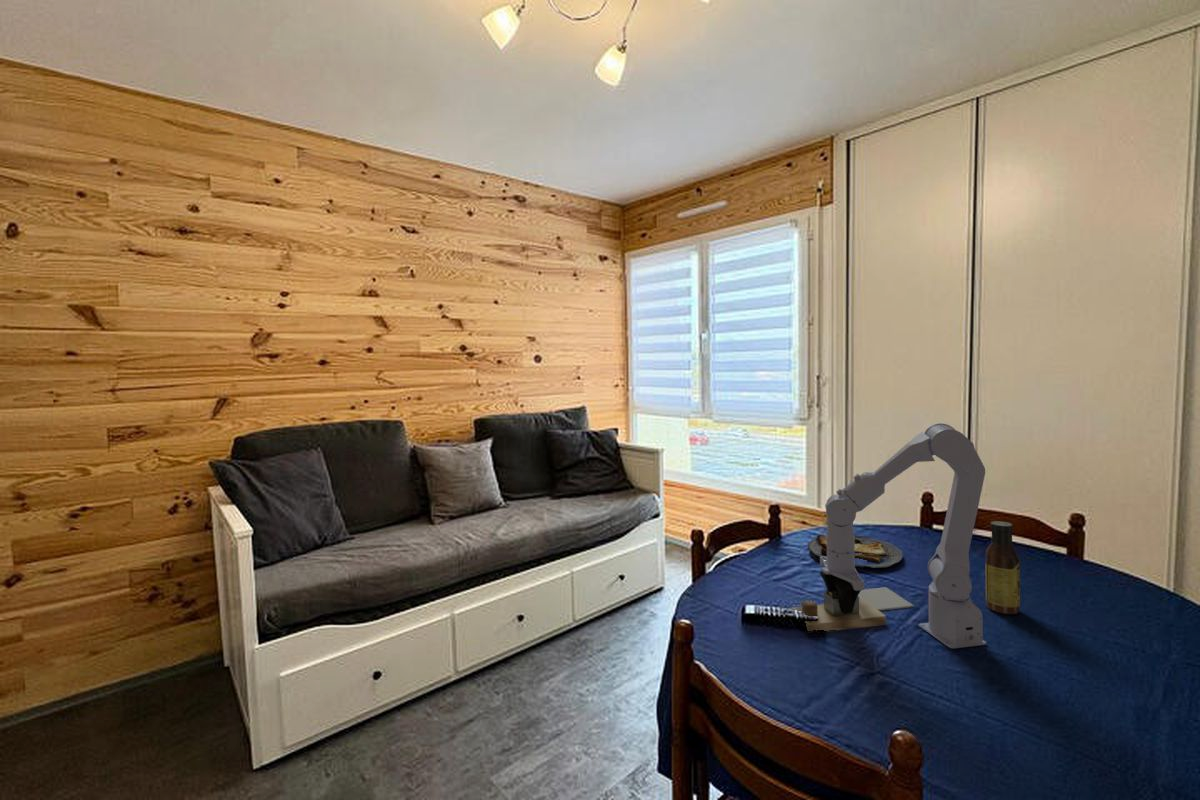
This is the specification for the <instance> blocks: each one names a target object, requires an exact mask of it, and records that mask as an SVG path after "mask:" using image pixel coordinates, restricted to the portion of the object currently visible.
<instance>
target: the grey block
mask: <svg viewBox="0 0 1200 800" xmlns="http://www.w3.org/2000/svg"><path fill="white" fill-rule="evenodd" d="M823 604H824V609H825V610H826V611H828V612H829V613H830V614H831V615H832V616H833V617H837V616H846V615H855V614H859V596H858V597H857V599H856V601H855V605H854V608H853V612H852V613H847V614H844V613H842V610H841V605H840V597H839V593H838V590H834V591H823Z"/></svg>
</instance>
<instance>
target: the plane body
mask: <svg viewBox="0 0 1200 800" xmlns="http://www.w3.org/2000/svg"><path fill="white" fill-rule="evenodd" d="M791 609H792V610H797V611H802V613H804V614H805V615H808V616H818V620H817V621H811V622H810V621H805V623H806V627H807V630H808V631H813V630H816V631H817V630H824V631H827V632H830V631H829V630H836V631H841V630H842V631H844V630H850V629H859V628H870V627H871V628H872V627H877V626H886V625H887V615H885V614H884V613H883V612H882V611H879V610H877V609H876V608H875V607H873V606H872V605H871V604H869V603H868V602H866V601H865V600H859V614H855V615H846V616H837V617H833V616H832V615H831V614H830V613H829V612H828V611H826V610H825V609H824V603H821V604H818V603H817V602H815V601H813V600H804V601H801V605H800V606H794V607H790V610H791ZM843 629H844V630H843Z"/></svg>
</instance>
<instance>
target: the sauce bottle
mask: <svg viewBox="0 0 1200 800" xmlns="http://www.w3.org/2000/svg"><path fill="white" fill-rule="evenodd" d="M989 526H990V527H989V528H990V529H991V542H990V544H989V545H988V546H987V548H986V550H985V566H984V568H985V569H984V570H985V571H984V572H985V573H984V574H985V601H986V606H987V607H988V609H989V610H991V611H993V612H994V613H995V612H996V613H998V614H1002V615H1016V614H1018V613H1019V611H1020V606H1021V588H1020V587H1021V582H1020V581H1021V579H1020V578H1021V574H1020V573H1021V571H1020V569H1021V567H1020V565H1021V564H1020V558H1019V556H1018V553H1017V551H1016V548H1015V546H1014V543H1013V542H1014V541H1013V531H1014V526H1013V524H1012V523H1010V522H1007V521H999V520H995V521H991V522H990V525H989Z"/></svg>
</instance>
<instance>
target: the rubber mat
mask: <svg viewBox="0 0 1200 800" xmlns="http://www.w3.org/2000/svg"><path fill="white" fill-rule="evenodd" d="M858 596H859V600H865V601H866V602H868V603H869V604H871V605H872V606H873V607H875V608H876V609H877V610H879V611H880V612H882V611H889V610H899V609H906V608H907V609H909V608H914V604H912V603H911V602H909V601H908V600H906V599H905V598H903V597H901V596H900V595H899V594H897V593H895V592H894V591H893V590H891V589H889V588H888V587H887V586H884V587H883V586H882V587H877V588H876V587H875V588H874V587H873V588H866V589H865V588H864V590H861V591H860V593H859V595H858Z"/></svg>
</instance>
